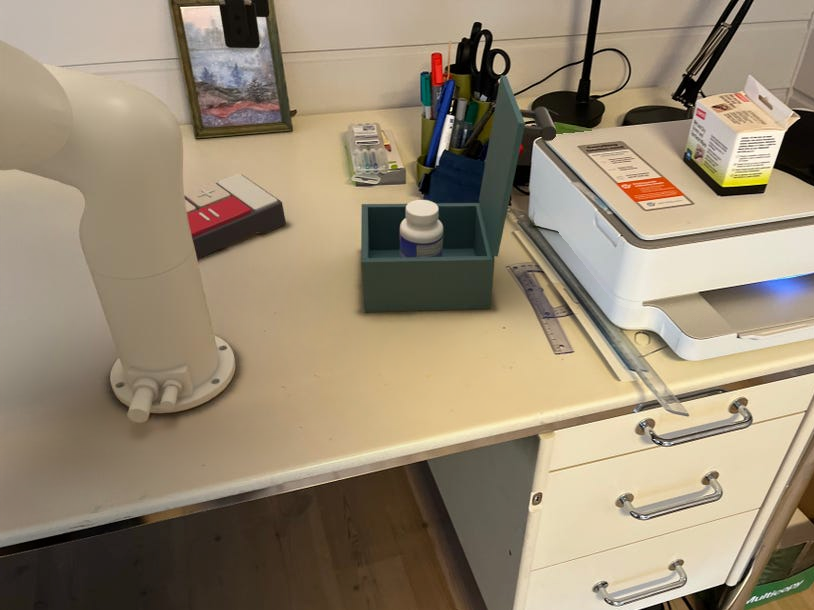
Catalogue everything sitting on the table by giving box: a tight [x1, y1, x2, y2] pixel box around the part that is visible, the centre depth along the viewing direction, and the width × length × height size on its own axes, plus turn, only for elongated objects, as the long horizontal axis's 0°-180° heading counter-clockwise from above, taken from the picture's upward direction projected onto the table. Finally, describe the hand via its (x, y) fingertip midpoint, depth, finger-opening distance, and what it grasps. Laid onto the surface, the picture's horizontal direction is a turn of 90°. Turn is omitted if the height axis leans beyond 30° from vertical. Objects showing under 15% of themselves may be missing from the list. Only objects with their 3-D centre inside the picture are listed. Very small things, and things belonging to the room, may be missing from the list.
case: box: [360, 202, 496, 313], centre depth 95 cm, size 16×14×7 cm
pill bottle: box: [400, 199, 443, 258], centre depth 94 cm, size 5×5×10 cm
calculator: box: [184, 173, 287, 259], centre depth 103 cm, size 11×4×15 cm
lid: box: [478, 74, 557, 258], centre depth 89 cm, size 16×14×6 cm
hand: (249, 30), depth 76 cm, fingers open, 9 cm apart
